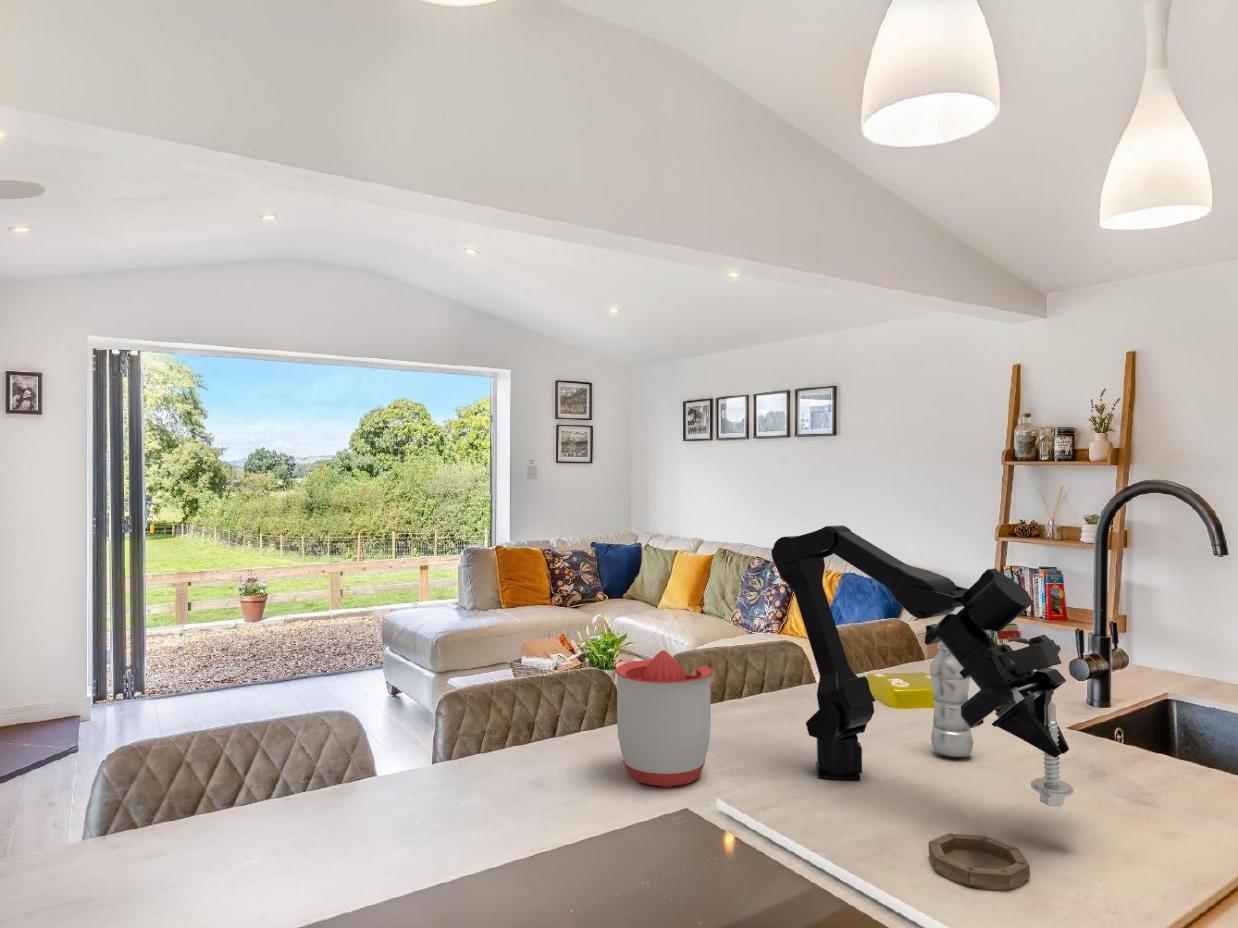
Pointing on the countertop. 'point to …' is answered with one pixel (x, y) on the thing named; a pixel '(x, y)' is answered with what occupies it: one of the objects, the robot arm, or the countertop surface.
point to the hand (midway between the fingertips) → (1062, 753)
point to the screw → (1051, 767)
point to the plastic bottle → (949, 706)
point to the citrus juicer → (663, 720)
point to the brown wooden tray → (979, 862)
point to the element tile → (902, 689)
